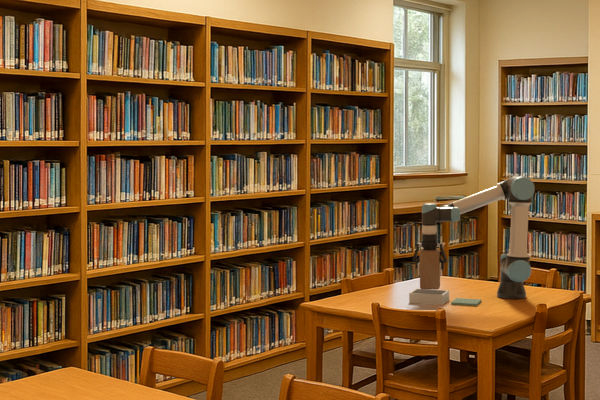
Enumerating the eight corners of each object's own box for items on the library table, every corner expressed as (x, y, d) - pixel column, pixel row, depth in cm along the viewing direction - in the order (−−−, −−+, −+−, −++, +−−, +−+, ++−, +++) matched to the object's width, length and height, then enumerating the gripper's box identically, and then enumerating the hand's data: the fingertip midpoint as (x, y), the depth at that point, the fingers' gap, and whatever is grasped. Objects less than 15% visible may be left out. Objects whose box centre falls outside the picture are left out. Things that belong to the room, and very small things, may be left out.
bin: (449, 299, 436) (449, 290, 435) (443, 304, 422) (443, 295, 422) (416, 297, 442) (416, 288, 442) (409, 302, 429) (409, 293, 428)
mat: (481, 301, 429) (481, 299, 429) (476, 306, 417) (476, 303, 417) (456, 300, 434) (456, 298, 434) (451, 304, 422) (451, 302, 422)
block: (439, 289, 426) (439, 251, 425) (419, 289, 428) (419, 251, 427) (440, 286, 436) (439, 248, 434) (421, 286, 438) (420, 248, 436)
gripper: (453, 233, 429) (453, 275, 430) (409, 232, 438) (410, 273, 439) (450, 234, 422) (450, 277, 423) (405, 233, 431) (406, 275, 432)
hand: (429, 275), depth 431 cm, fingers closed on block, 11 cm apart
